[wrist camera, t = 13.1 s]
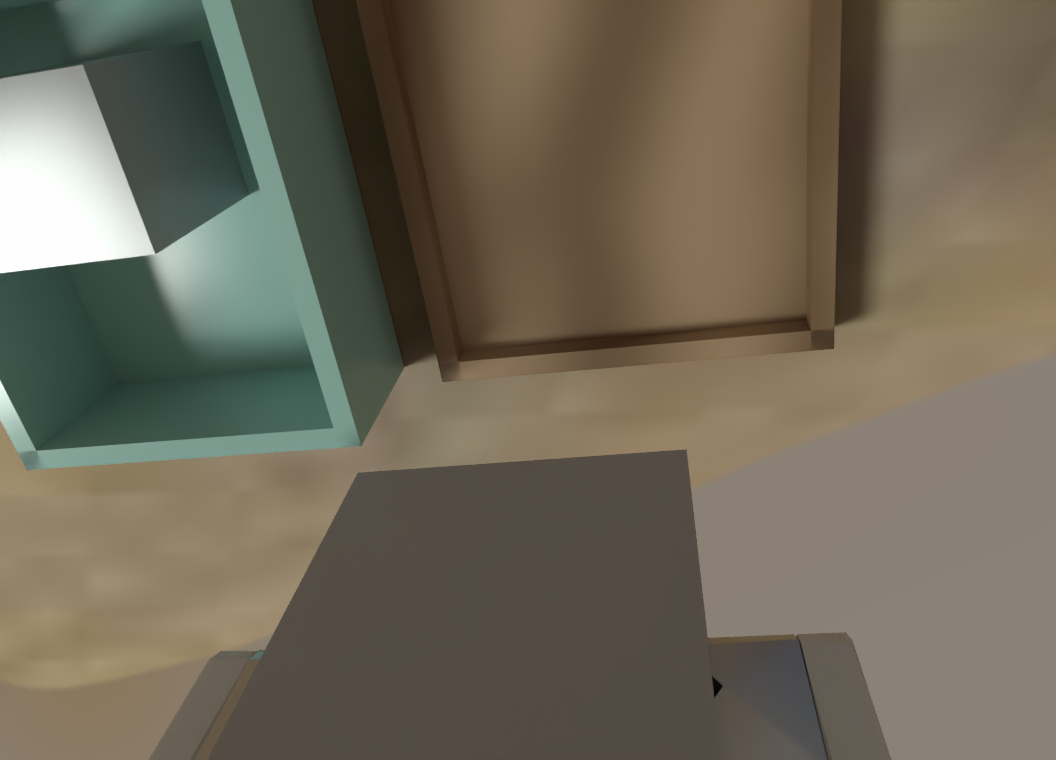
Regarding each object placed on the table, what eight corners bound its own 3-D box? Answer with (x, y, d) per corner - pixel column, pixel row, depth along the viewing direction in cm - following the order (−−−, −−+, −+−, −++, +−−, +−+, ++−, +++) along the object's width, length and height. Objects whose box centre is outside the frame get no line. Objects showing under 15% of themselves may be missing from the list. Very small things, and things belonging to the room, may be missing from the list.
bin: (294, -71, 19) (208, -76, 15) (404, 367, 25) (361, 445, 21) (-59, -3, 21) (-217, 7, 17) (116, 393, 27) (26, 470, 23)
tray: (833, -174, 17) (846, -182, 16) (824, 330, 23) (834, 348, 22) (352, -82, 19) (336, -84, 18) (450, 363, 25) (442, 382, 23)
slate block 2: (686, 449, 9) (736, 904, 5) (706, 693, 11) (755, 1186, 7) (358, 472, 10) (139, 887, 5) (427, 698, 12) (305, 1147, 7)
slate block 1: (200, 40, 20) (82, 64, 16) (249, 194, 22) (155, 254, 18) (62, 64, 21) (-87, 93, 17) (120, 211, 23) (-1, 273, 18)
